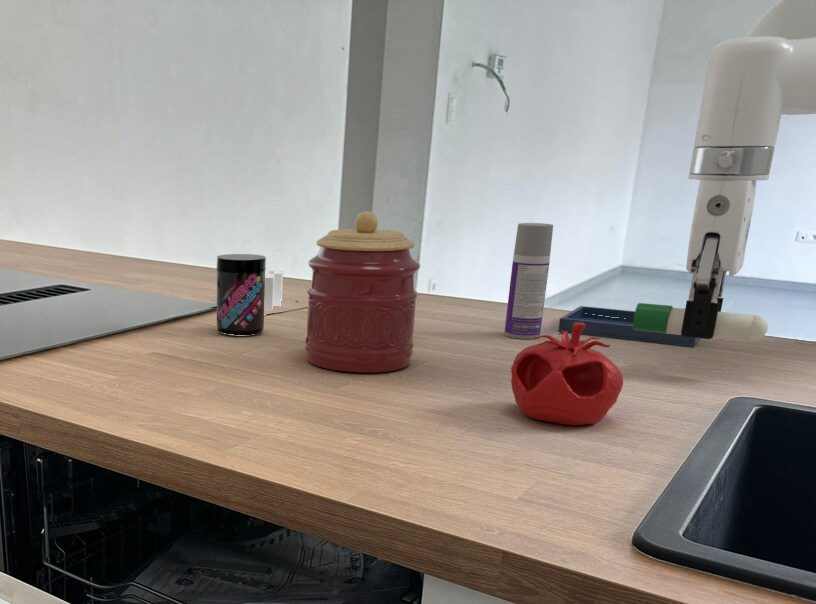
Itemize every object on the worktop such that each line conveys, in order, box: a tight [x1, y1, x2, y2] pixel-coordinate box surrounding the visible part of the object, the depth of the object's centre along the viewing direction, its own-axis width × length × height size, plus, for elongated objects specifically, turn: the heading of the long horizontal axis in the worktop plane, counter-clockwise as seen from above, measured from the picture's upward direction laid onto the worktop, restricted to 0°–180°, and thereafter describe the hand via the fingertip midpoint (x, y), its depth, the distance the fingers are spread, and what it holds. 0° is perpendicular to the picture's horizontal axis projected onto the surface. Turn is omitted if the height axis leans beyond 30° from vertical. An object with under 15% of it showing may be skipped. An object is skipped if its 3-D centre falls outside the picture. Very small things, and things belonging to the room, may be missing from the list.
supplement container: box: [215, 253, 267, 335], centre depth 119 cm, size 7×7×10 cm
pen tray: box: [558, 305, 701, 348], centre depth 122 cm, size 17×12×2 cm
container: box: [504, 222, 554, 340], centre depth 117 cm, size 5×5×15 cm
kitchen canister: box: [304, 210, 421, 374], centre depth 102 cm, size 13×13×18 cm
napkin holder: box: [264, 267, 284, 311], centre depth 139 cm, size 15×11×6 cm
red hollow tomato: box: [510, 322, 624, 426], centre depth 82 cm, size 10×10×9 cm
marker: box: [633, 302, 768, 343], centre depth 98 cm, size 13×3×3 cm, turn 55°
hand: (699, 332), depth 98 cm, fingers closed on marker, 3 cm apart
